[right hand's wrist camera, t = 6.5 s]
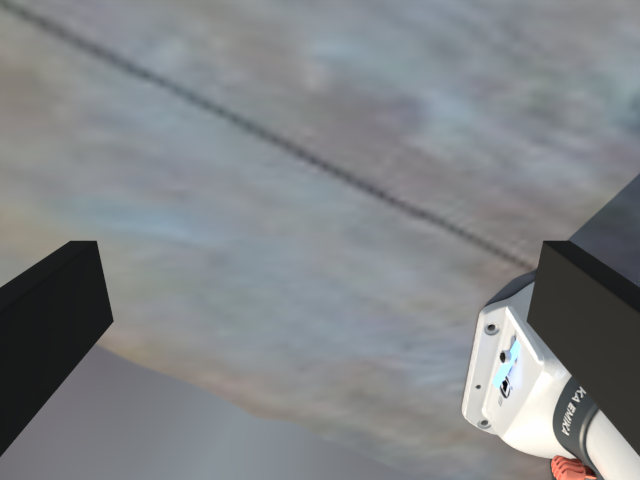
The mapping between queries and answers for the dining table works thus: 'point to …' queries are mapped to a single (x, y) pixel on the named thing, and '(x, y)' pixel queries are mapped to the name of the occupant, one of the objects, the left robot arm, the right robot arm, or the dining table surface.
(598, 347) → the right robot arm
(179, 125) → the dining table surface
